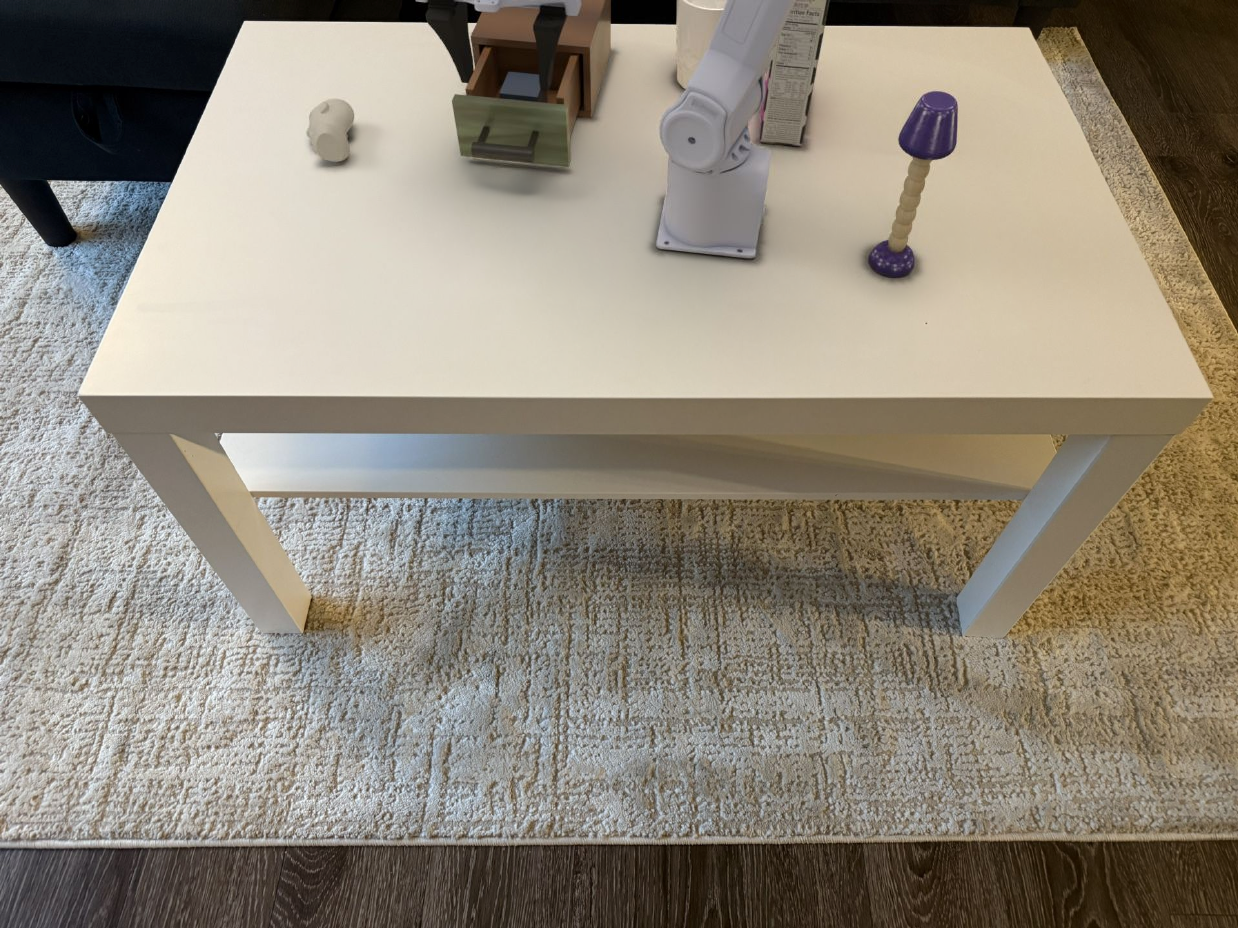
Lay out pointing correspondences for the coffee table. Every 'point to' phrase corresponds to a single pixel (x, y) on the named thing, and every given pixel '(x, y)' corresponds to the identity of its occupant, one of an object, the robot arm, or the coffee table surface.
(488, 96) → the drawer
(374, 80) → the coffee table surface
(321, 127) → the pale two-lobed sculpture
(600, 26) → the cabinet
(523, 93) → the block
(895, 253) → the toy lamp
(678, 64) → the white cup
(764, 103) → the candy bar box
